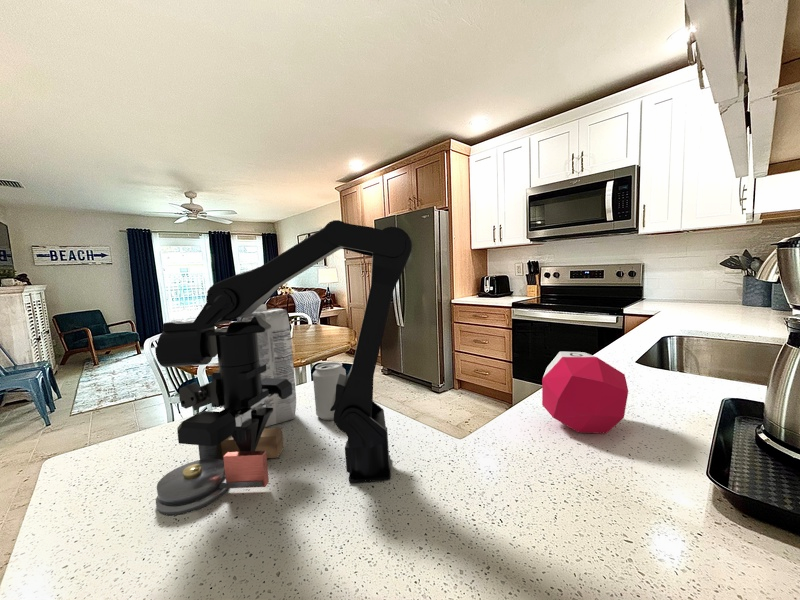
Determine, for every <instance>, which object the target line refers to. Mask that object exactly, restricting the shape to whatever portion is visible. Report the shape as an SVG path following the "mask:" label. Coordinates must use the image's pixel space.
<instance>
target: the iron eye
mask: <svg viewBox="0 0 800 600" xmlns="http://www.w3.org/2000/svg"><path fill="white" fill-rule="evenodd" d="M197 446H198V455H199V460H202V459H210V458H215V459H221V460H223V459H222V450H221V443H220V444H218V445H214V446H203V445H197Z"/></svg>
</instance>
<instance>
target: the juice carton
mask: <svg viewBox="0 0 800 600" xmlns="http://www.w3.org/2000/svg"><path fill="white" fill-rule="evenodd" d="M258 315H259V316H260V317H261V318H262V319H263V320H264V321H265V322H267V323H268V324H270V325H271V328H270V329H268V330H267V331H265V332H262V333H257V334H258V346H259V358H260V364H266V369H267V370H266V371H264V372H262V373H261V380H263V379H265V378H277V379H288V381H289V382H290V383H291V384H292V394H291V395H290V396H288V397H287V398H286V399H281V398H280V397H279V396H278V394H274V395H272V396H271V397H269V398H267V399H266V400H264V404H266V407H267V408H273V412H272V413H271V414H270V416H269V418H268V421H267V423H266V425H265V427H264V428H268V427H270V426H273V425H274V426H275V425H277V424H280V423H284V422H287V421H291V420H293V419H295V417H296V411H297V392H296V391H297V389H296V380H295V370H294V369H295V368H294V357H293V347H292V334H291V326H290V320H289V312H288V310H287V309H283V308H280V307H279V308H276V307H275V308H269V309H268V308H267V304H265V303H263V304H262V305H261V306H259V307H258V308H257V309H256V310H255V311H254V312H253V313H251V314H249V315H246V316H243V317H239V318H236V322H244V321H251V320H252V318H253V317H255V316H258Z"/></svg>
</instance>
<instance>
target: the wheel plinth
mask: <svg viewBox="0 0 800 600" xmlns="http://www.w3.org/2000/svg"><path fill="white" fill-rule="evenodd" d="M228 489H229V488H218V489H217V490H216V491H214V492H213V493H211V494H210V495H208V496H206V497H204V498H202V499H200V500H197V501H194V502H191V503H188V504H184V505H179V506H165V505H162V504H160V503H159V501H158V495H157V496H156V498H155V508H156V511H157V512H158V513H159V514H160V515H163V516H166V517H167V516H168V517H169V516H171V517H173V516H176V517H177V516H181V515H186V514H189V513H193V512H195V511H198V510H200V509H203V508H205V507H207V506H209V505H211V504H212V503H214V502H215V501H217V500H218V499H220V498H221V497H222V496H223V495H224V494H225V493H226V492H227V490H228Z"/></svg>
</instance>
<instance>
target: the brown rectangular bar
mask: <svg viewBox="0 0 800 600" xmlns="http://www.w3.org/2000/svg"><path fill="white" fill-rule="evenodd" d="M283 434H284V433H283V426H280V427H279V426H277V427H269V428H268V427H265V428H264V430H263V432H262V435H261V437H260V439H259V442H258V445H257V447H256V450H255V451H266V457H267V459H274V458H279V456H280V455H281V453H282V452H283V449H284V448H285V443H284V435H283ZM221 450H222V459H223V461H224V458H223V456H224V455H225V454H227V453H228V452H241V451H240V450H239V448H238V446H237V444H236V443H235V441H234V439H233V438H232V436H230V437H228V438H227V439H225V440H224V441H222V442H221Z"/></svg>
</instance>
